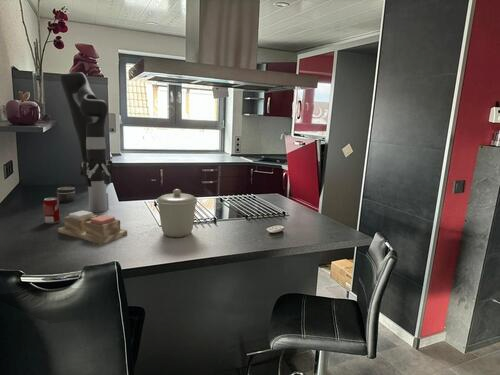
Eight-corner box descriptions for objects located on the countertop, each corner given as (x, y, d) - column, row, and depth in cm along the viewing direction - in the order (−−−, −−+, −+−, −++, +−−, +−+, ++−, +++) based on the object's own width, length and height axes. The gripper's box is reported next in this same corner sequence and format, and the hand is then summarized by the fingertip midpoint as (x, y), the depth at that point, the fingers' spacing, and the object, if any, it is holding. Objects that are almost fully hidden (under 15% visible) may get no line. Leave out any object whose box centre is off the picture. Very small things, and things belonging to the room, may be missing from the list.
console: (85, 224, 171) (84, 210, 169) (127, 234, 158) (126, 219, 157) (58, 232, 159) (57, 217, 157) (101, 244, 146) (100, 228, 145)
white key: (83, 216, 165) (82, 210, 164) (93, 218, 162) (93, 212, 161) (69, 220, 159) (69, 213, 158) (80, 222, 156) (79, 216, 155)
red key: (104, 221, 159) (103, 214, 158) (115, 223, 156) (114, 217, 155) (90, 225, 153) (90, 218, 152) (102, 227, 150) (101, 221, 149)
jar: (54, 200, 214) (53, 188, 213) (70, 197, 223) (69, 186, 221) (62, 203, 209) (62, 190, 207) (79, 200, 217) (78, 188, 215)
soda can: (53, 224, 169) (51, 200, 166) (41, 223, 170) (39, 199, 168) (63, 221, 175) (61, 197, 173) (51, 219, 177) (49, 196, 174)
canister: (178, 243, 150) (177, 195, 145) (148, 235, 159) (147, 189, 155) (205, 232, 165) (205, 188, 160) (176, 225, 174) (176, 183, 170)
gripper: (104, 146, 157) (106, 182, 160) (75, 147, 145) (77, 186, 147) (116, 147, 153) (117, 184, 156) (86, 149, 141) (88, 188, 144)
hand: (98, 185), depth 152 cm, fingers open, 8 cm apart
